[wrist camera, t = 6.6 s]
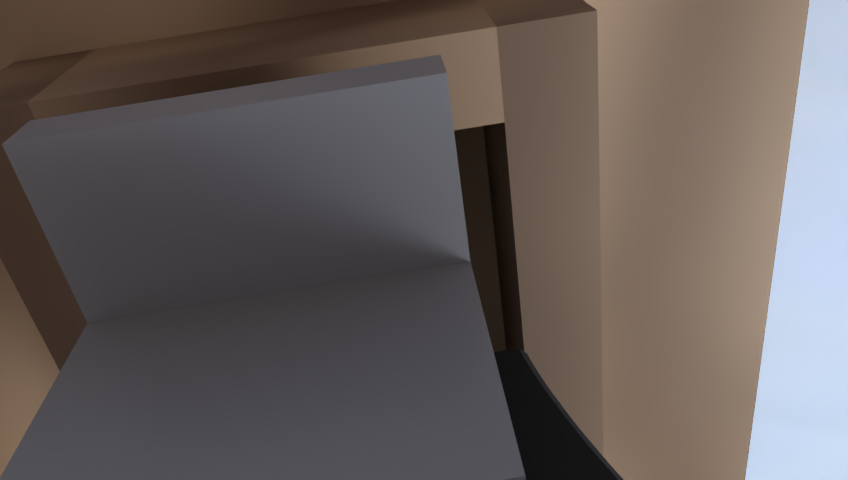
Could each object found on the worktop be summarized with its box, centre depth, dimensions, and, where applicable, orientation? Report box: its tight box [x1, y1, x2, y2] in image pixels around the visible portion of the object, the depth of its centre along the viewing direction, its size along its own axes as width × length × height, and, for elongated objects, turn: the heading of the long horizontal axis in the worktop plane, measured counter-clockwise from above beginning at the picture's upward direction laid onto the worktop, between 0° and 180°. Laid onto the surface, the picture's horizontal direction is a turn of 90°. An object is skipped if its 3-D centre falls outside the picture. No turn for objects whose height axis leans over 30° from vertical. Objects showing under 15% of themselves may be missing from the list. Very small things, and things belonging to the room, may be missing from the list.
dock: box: [0, 0, 809, 480], centre depth 12 cm, size 16×16×3 cm
